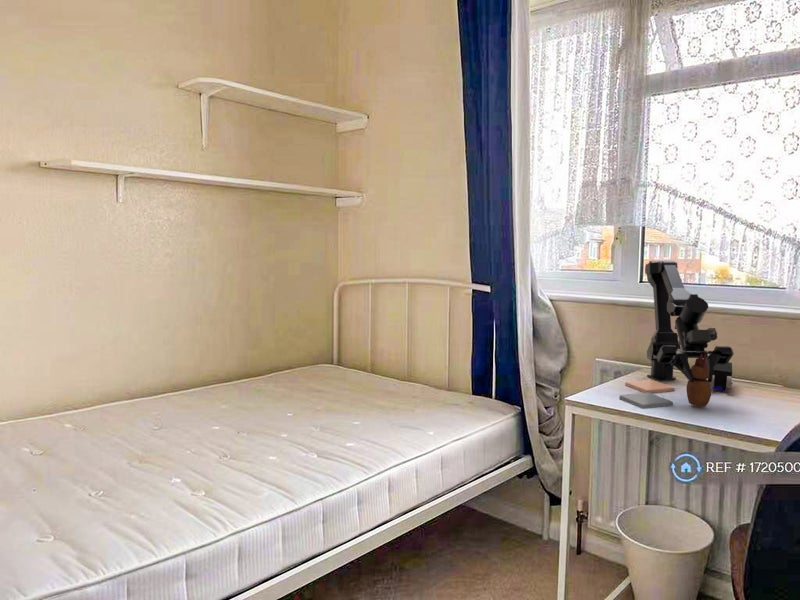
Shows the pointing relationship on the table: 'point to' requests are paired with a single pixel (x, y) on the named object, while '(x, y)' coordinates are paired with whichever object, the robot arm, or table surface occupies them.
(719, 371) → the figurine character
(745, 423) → the table surface
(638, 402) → the slate tile
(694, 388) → the wooden figurine
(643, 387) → the terracotta tile
